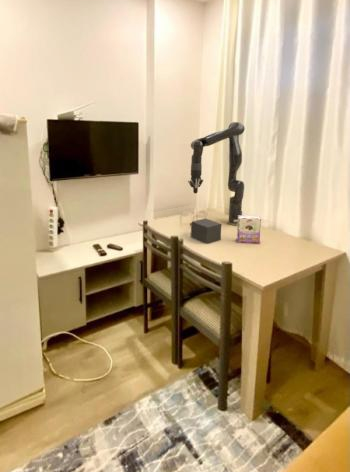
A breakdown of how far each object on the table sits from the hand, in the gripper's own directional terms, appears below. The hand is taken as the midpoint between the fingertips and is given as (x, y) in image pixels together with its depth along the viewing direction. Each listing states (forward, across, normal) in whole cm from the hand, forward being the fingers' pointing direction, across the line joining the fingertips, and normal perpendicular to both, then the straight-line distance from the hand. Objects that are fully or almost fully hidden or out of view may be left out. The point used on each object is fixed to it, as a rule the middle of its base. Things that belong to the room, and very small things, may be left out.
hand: (195, 193), depth 229 cm
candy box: (+25, +8, -42) cm, 50 cm away
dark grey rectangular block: (+25, -10, -22) cm, 35 cm away
